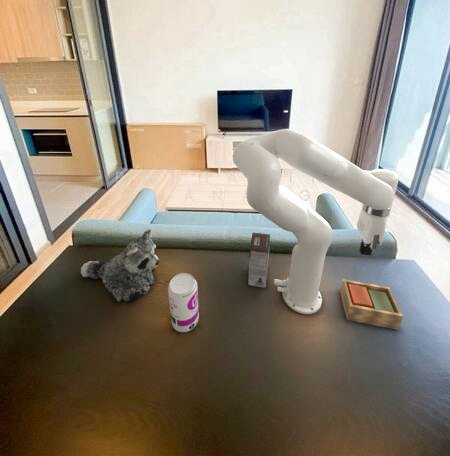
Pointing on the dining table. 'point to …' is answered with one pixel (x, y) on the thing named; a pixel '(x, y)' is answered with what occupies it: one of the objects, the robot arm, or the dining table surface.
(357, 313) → the snack tray
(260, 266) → the coffee box
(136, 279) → the raccoon plush
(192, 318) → the supplement can
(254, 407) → the dining table surface
